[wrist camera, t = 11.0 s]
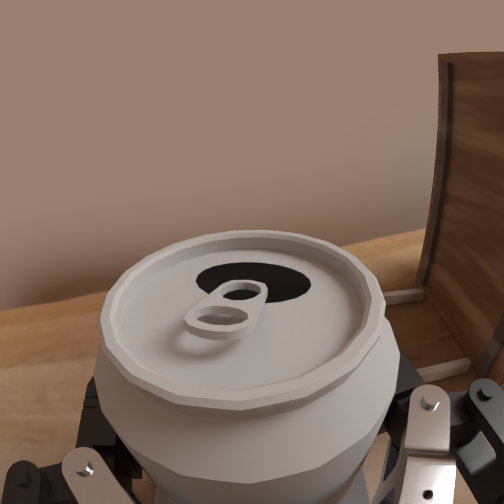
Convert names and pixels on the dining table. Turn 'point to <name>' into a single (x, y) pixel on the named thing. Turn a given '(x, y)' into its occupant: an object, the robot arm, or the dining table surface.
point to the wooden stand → (466, 216)
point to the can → (247, 367)
